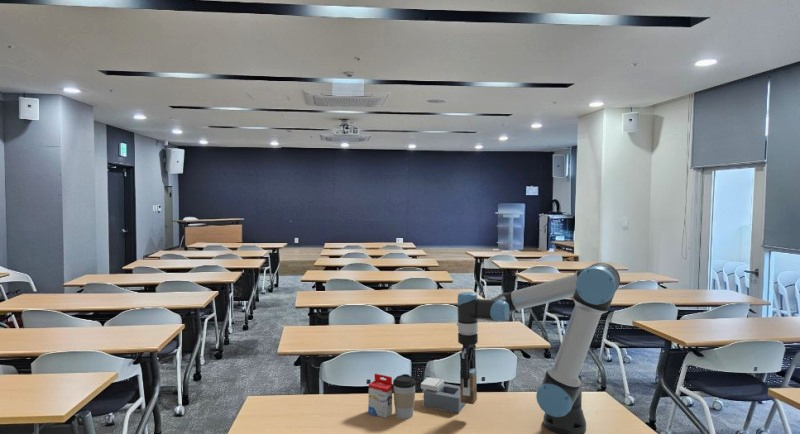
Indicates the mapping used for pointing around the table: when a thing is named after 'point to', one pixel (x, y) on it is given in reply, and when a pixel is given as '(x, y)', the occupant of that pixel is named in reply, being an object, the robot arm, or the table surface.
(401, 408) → the coffee cup
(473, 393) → the plug
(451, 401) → the socket block
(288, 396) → the table surface
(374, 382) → the ink box
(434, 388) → the lid
